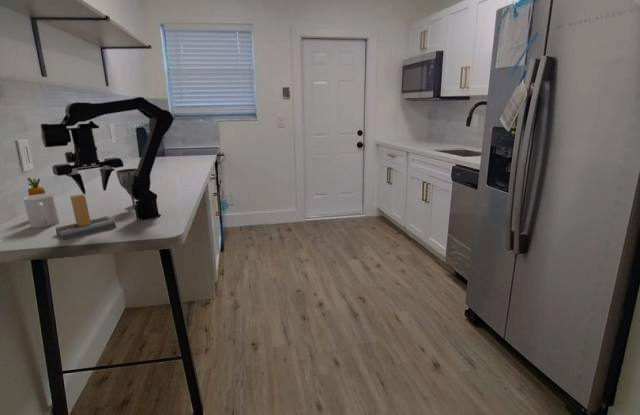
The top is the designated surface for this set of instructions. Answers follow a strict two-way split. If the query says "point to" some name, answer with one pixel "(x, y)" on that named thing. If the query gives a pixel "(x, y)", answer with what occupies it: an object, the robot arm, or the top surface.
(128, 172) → the wine glass
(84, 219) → the fader tab
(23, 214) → the top surface
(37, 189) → the carrot
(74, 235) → the rail
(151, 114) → the robot arm
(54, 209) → the cup
